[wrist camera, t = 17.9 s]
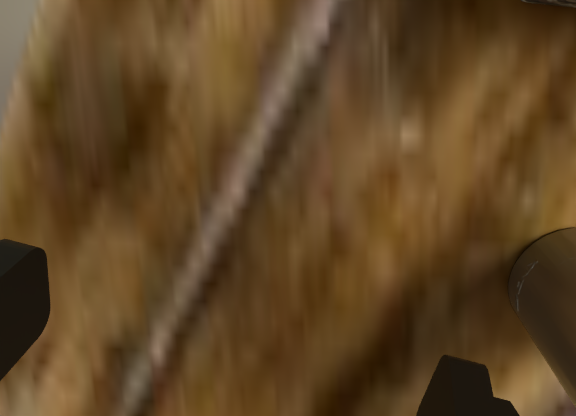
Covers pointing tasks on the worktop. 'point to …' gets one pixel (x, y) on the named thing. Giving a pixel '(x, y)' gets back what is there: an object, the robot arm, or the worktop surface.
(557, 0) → the coffee box
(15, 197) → the worktop surface
